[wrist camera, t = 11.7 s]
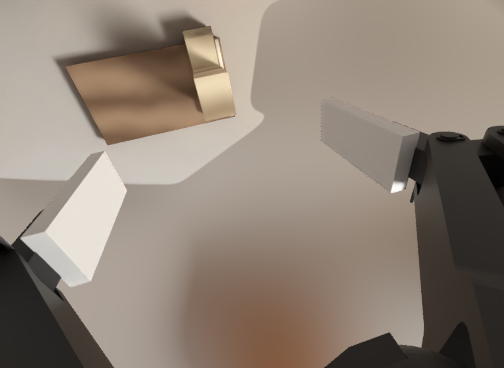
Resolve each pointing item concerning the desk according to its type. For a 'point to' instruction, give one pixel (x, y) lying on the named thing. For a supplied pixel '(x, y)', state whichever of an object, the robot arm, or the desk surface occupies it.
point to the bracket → (209, 75)
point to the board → (141, 92)
